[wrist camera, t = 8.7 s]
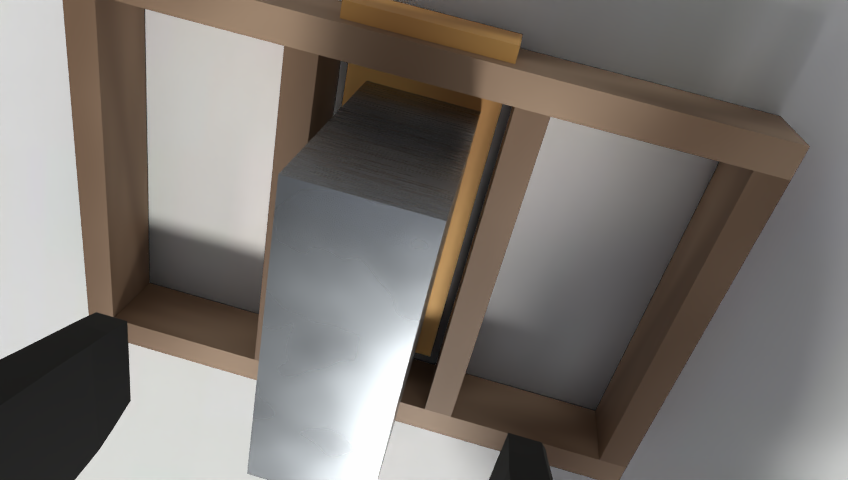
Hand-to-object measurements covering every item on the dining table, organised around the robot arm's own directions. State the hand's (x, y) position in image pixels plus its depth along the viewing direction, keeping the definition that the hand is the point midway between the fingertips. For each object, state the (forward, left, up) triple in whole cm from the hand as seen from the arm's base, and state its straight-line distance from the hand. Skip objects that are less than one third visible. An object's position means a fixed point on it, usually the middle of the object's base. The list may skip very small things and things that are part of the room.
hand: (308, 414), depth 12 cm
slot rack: (0, 0, -8) cm, 8 cm away
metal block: (0, 0, -7) cm, 7 cm away
